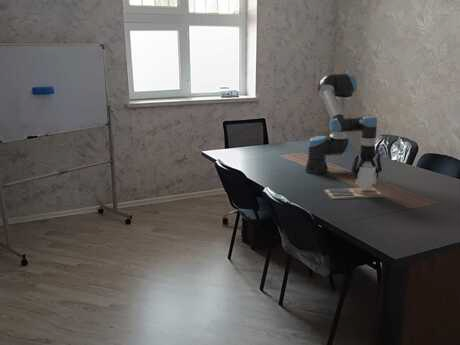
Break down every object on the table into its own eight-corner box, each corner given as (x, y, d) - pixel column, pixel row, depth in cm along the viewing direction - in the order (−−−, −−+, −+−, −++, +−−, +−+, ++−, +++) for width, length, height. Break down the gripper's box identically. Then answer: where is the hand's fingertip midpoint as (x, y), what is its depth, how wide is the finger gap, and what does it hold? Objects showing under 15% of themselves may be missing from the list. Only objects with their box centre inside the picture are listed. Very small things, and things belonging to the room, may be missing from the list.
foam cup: (362, 191, 239) (363, 168, 235) (353, 186, 248) (354, 164, 244) (377, 189, 241) (379, 167, 238) (368, 185, 250) (369, 163, 246)
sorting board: (324, 190, 251) (324, 188, 251) (372, 188, 253) (373, 186, 253) (331, 199, 237) (331, 197, 236) (383, 196, 239) (383, 194, 238)
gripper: (351, 147, 233) (348, 186, 239) (390, 145, 235) (387, 185, 241) (346, 144, 241) (344, 182, 247) (384, 142, 242) (381, 181, 248)
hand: (365, 183), depth 244 cm, fingers closed on foam cup, 9 cm apart
